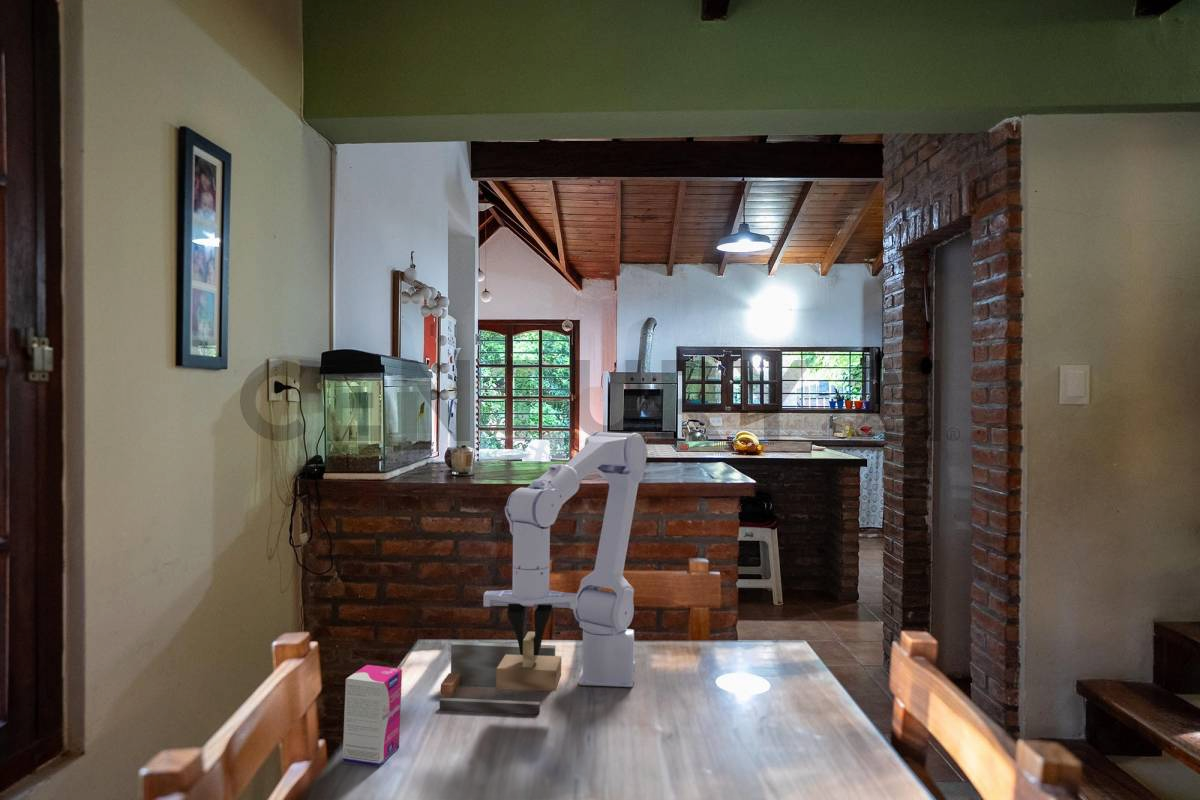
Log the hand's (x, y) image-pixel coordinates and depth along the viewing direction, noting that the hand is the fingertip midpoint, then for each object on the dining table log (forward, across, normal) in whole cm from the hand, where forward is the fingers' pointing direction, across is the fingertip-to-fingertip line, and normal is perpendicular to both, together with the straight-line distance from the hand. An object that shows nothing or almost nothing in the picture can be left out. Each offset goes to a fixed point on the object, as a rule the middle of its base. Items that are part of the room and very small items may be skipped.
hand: (530, 652), depth 112 cm
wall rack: (+10, -7, +8) cm, 15 cm away
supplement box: (+10, -20, -13) cm, 26 cm away
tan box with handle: (+4, 0, 0) cm, 4 cm away
